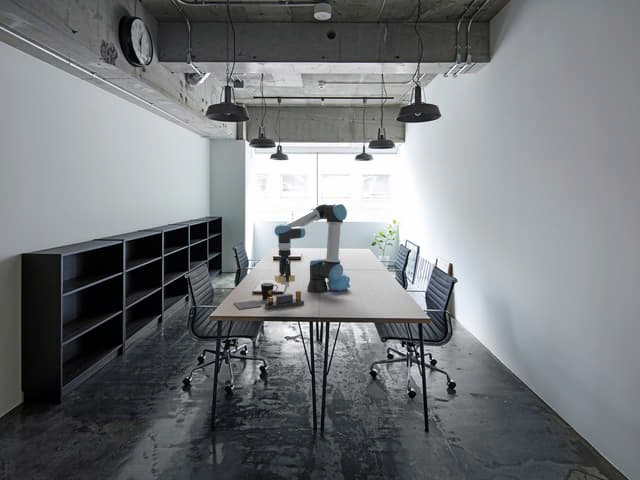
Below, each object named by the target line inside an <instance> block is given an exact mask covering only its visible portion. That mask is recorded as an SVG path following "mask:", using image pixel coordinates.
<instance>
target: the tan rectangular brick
mask: <svg viewBox="0 0 640 480" xmlns="http://www.w3.org/2000/svg"><path fill="white" fill-rule="evenodd" d="M284 276H285V274H280V273H279V274H274V281H275V282H276V284H277V283H278V284H281V283H285V277H284ZM295 281H296V276H295V274H294V273H291V276H289V283H291V282H292V283H293V282H295Z"/></svg>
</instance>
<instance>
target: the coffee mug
mask: <svg viewBox="0 0 640 480" xmlns="http://www.w3.org/2000/svg"><path fill="white" fill-rule="evenodd" d="M278 286H279V285H277V284H274V283H272V282H263V283H261V284H260V288H261V289H260V290H261V297H262V300H263V301H268V297H273V294H274V293H275V292H276V291H277V290H278V289H279V287H278ZM274 287H276V289H275V290H274Z"/></svg>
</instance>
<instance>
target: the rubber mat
mask: <svg viewBox="0 0 640 480" xmlns="http://www.w3.org/2000/svg"><path fill="white" fill-rule="evenodd" d="M233 305H235V307H236V308H237V309H238V310H239V311H240V310H241V311H242V310H246V309H255V308H262V305H261V304H260V303H259V302H257V301H256V300H246V301H240V302H239V301H238V302H233Z"/></svg>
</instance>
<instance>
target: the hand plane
mask: <svg viewBox="0 0 640 480" xmlns="http://www.w3.org/2000/svg"><path fill="white" fill-rule="evenodd" d="M275 298H276V299H275V301H274V297H273V296H272V297H268V300H267V302H265V303H264V307H265V308H266V310H277V309H283V308H289V307H290V308H291V307H301V306H304V305H305V300H303V299H302V291H301V290H296V291H295V298H294V294H292V293H285V294H277V295H276V297H275Z"/></svg>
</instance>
